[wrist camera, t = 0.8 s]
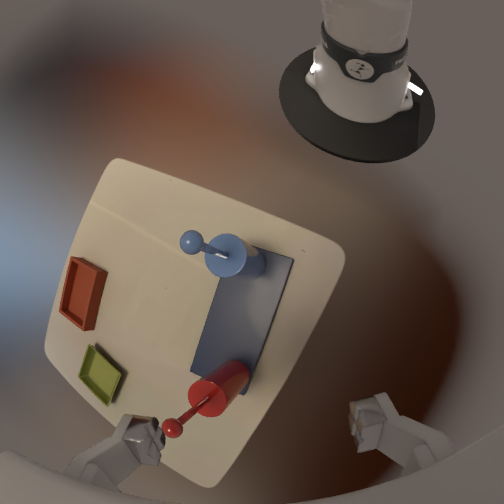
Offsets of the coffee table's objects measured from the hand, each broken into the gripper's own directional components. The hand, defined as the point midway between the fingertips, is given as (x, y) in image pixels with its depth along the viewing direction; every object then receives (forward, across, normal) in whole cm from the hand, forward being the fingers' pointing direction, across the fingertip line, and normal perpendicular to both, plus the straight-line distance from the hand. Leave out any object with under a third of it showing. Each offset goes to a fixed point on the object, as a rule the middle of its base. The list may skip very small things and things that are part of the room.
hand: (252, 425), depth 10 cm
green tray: (+28, +30, +18) cm, 44 cm away
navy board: (+27, +3, +8) cm, 28 cm away
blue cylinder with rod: (+28, +1, +1) cm, 28 cm away
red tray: (+34, +32, +4) cm, 47 cm away
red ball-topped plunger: (+23, +5, +14) cm, 28 cm away
